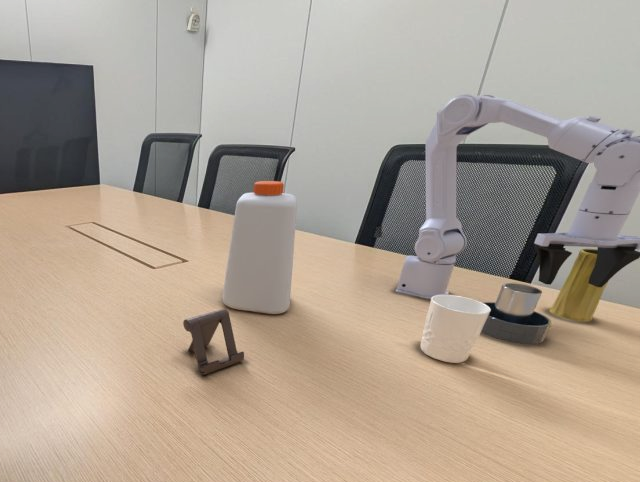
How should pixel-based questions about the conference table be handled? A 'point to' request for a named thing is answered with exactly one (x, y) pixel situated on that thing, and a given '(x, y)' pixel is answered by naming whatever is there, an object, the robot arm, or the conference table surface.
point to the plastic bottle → (261, 250)
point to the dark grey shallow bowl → (517, 328)
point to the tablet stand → (203, 333)
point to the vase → (579, 290)
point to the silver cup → (516, 303)
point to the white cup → (453, 327)
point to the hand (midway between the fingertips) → (569, 284)
